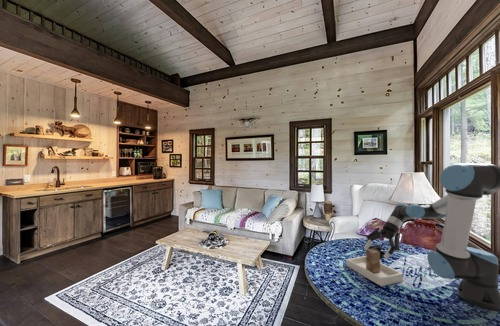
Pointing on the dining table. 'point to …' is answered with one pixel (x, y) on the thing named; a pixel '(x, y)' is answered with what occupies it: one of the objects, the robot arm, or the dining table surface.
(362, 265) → the sorting tray
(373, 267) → the walnut block
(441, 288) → the dining table surface
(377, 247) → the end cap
